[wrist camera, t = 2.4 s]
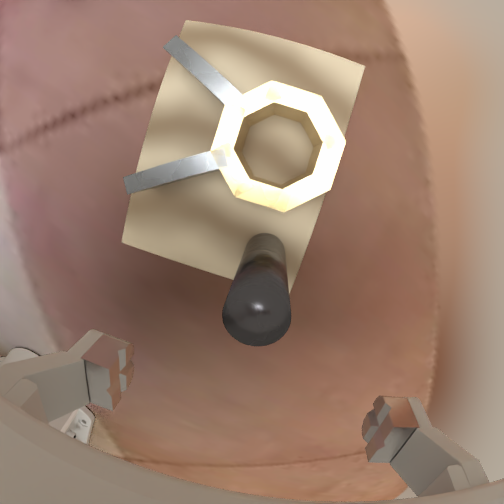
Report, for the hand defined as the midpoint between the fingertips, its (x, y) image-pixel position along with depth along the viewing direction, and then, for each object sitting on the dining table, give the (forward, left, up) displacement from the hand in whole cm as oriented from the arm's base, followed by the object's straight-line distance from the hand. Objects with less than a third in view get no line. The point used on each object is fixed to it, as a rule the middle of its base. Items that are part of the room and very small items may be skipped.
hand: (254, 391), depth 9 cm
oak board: (+7, +5, -18) cm, 20 cm away
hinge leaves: (+8, +4, -16) cm, 19 cm away
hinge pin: (0, 0, -16) cm, 16 cm away
